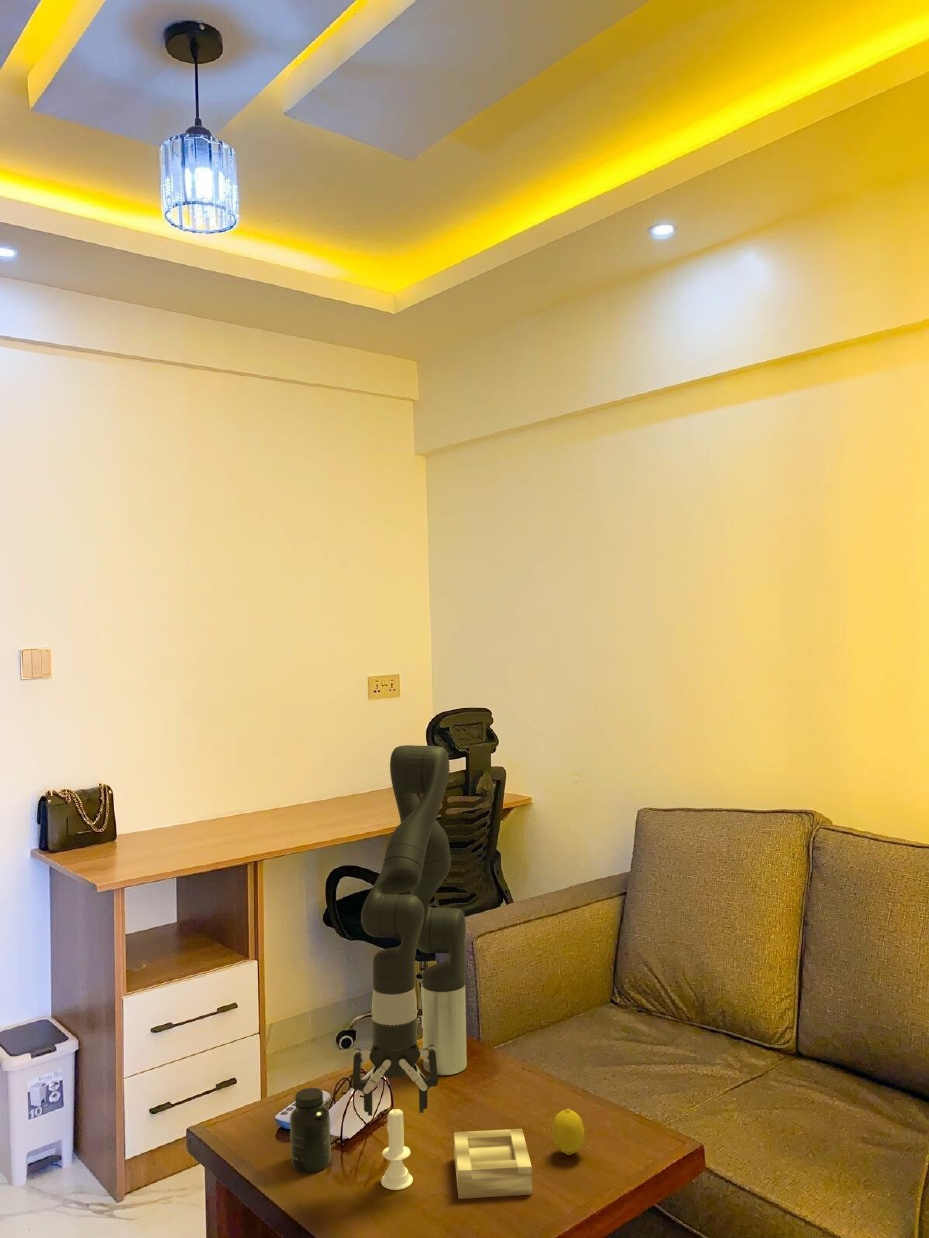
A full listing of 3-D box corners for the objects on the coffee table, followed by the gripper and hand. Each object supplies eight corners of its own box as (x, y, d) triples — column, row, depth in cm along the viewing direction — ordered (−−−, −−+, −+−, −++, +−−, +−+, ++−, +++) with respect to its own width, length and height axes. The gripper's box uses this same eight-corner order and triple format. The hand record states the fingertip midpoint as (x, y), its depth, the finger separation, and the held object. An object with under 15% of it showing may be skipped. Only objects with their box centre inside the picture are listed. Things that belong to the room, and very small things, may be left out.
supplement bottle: (315, 1148, 169) (314, 1080, 169) (338, 1162, 164) (337, 1092, 164) (283, 1163, 164) (282, 1093, 164) (305, 1178, 159) (304, 1107, 160)
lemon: (549, 1160, 163) (548, 1114, 164) (557, 1144, 169) (556, 1099, 169) (580, 1166, 162) (579, 1119, 162) (587, 1149, 167) (586, 1103, 167)
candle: (386, 1193, 155) (385, 1119, 155) (376, 1176, 160) (375, 1105, 160) (417, 1185, 157) (416, 1112, 157) (406, 1169, 162) (405, 1098, 162)
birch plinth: (454, 1158, 165) (454, 1132, 165) (522, 1154, 166) (522, 1128, 166) (458, 1198, 153) (458, 1170, 153) (532, 1194, 154) (531, 1166, 154)
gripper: (435, 1004, 163) (437, 1099, 162) (353, 1007, 162) (354, 1103, 162) (437, 1021, 156) (439, 1121, 155) (350, 1024, 155) (351, 1125, 154)
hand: (395, 1112), depth 158 cm, fingers open, 8 cm apart
